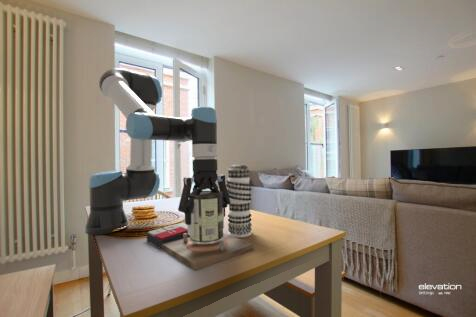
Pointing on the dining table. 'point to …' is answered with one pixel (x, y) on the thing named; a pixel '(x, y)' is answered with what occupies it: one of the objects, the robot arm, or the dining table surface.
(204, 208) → the coffee can
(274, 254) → the dining table surface
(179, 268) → the dining table surface
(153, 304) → the dining table surface
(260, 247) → the dining table surface
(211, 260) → the pin board
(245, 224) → the decorative candle
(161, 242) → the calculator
